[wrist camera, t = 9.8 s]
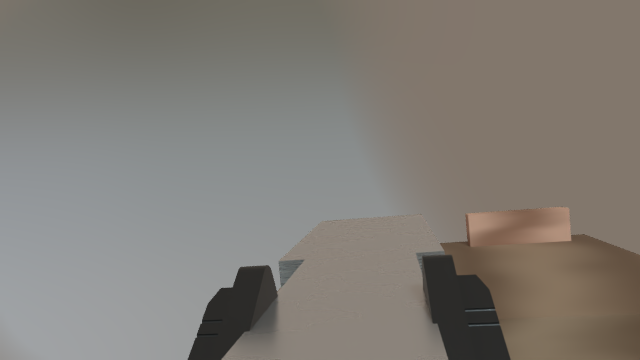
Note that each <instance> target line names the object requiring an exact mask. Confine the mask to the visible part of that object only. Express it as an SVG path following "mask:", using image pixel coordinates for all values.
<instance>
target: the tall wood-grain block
mask: <svg viewBox="0 0 640 360" xmlns="http://www.w3.org/2000/svg"><path fill="white" fill-rule="evenodd" d="M466 226H467V239H468V242H453V243H440V245H441V246H442V248H443V250H444V252H445V255H449V254H451V255H452V257H453V261H454V265H455V270H456V274H457V275H474V274H476V275H477V276H478V277H479V278H480V279H481V281H482V282H483V283H484V284H485V285H486V286H487V287H488V288H489V289H490V293H491V296H492V299H493V303H494V306H495V311H496V313H497V316H498V319H499V324H500V326H501V329H502V332H503V336H504V339H505V342H506V346H507V349H508V352H509V356H510V359H511V360H640V255H638V254H636V253H633V252H630V251H627V250H625V249H622V248H620V247H617V246H614V245H611V244H608V243H606V242H603V241H601V240H598V239H595V238H593V237H590V236H587V235H584V234H582V235H571V229H570V217H569V208H566V207H555V208H540V209H526V210H511V211H497V212H483V213H469V214H466ZM280 289H281V288H280ZM280 289H279V290H280Z"/></svg>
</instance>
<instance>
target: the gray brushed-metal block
mask: <svg viewBox="0 0 640 360" xmlns="http://www.w3.org/2000/svg"><path fill="white" fill-rule="evenodd" d="M432 255H445V252H444V250H443V248H442V246H441V245H440V243H439V242H438V240H437V238H436V237H435V235H434V234H433V232H432V231H431V229H430V227H429V226H428V224H427V223H426V221H425V220H424V218H423V216H422V215H421V214H417V215H402V216H388V217H374V218H361V219H347V220H333V221H322V222H321V223H320V224H318V225H317V226H316V227H315V228H314V229H313V230H312V231H311V232H310V233H309V234H308V235H307V236H305V237H304V238H303V239H302V240H301V241H300V242H299V243H298V244H297V245H296V246H295V247H293V248H292V249H291V250H290V251H289V252H288V253H287V254H286V255H285V256H284V257H283V258H281V259H280V260H279V271H280V282H281V289H280V290H279V291H278V292H277V294H278V297H277V298H276V299H275V300H274V302H273V303H272V304H271V305H270V307H269V308H268V309H267V310H266V311H265V313H264V314H263V315H262V316H261V318H260V319H259V320H258V321H257V323H256V324H255V325H254V326H253V328H252V329H251V330H250V331H248V332H244V333H243V334H242V335H241V337H240V338H239V339H238V340H237V341H236V343H235V344H234V345H233V346H232V347H231V349H230V350H229V351H228V352H227V353H226V355H225V356H224V357H223V358H222V359H221V360H448V357H447V354H446V350H445V347H444V344H443V341H442V337H441V334H440V331H439V328H438V324H433V323H432V319H431V315H430V312H429V308H428V305H427V301H426V297H425V294H424V290H423V276H422V256H432Z"/></svg>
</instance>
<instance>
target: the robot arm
mask: <svg viewBox="0 0 640 360" xmlns="http://www.w3.org/2000/svg"><path fill="white" fill-rule="evenodd" d="M422 276H423V290H424V294H425V297H426V301H427V305H428V308H429V312H430V315H431V319H432V323H433V324H438V328H439V331H440V334H441V337H442V341H443V344H444V347H445V350H446V354H447V357H448V360H511V359H510V356H509V352H508V349H507V346H506V342H505V339H504V336H503V332H502V329H501V326H500V324H499V319H498V316H497V313H496V311H495V306H494V303H493V299H492V296H491V293H490V289H489V288H488V287H487V286H486V285H485V284H484V283H483V282H482V281H481V279H480V278H479V277H478V276H477V275H476V274H474V275H457V274H456V270H455V265H454V261H453V257H452V255H451V254H449V255H432V256H422ZM277 297H278V294H277V290H276V286H275V283H274V279H273V275H272V271H271V268H270V267H269V266H268V265H266V266H252V267H251V266H250V267H240V268H239V270H238V273H237V276H236V279H235V282H234V285H233V287H232V288H221V289H220V290H219V291H218V292H217V294H216V295H215V296H214V297H213V298H212V300H211V301H210V302H209V303H208V305H207V308H206V311H205V314H204V316H203V319H202V324H201V325H200V328H199V330H198V333H197V338H196V339H195V341H194V344H193V347H192V350H191V352H190V355H189V358H188V360H221V359H222V358H223V357H224V356H225V355H226V353H227V352H228V351H229V350H230V349H231V347H232V346H233V345H234V344H235V343H236V341H237V340H238V339H239V338H240V337H241V335H242V334H243V333H244V332H248V331H250V330H251V329H252V328H253V326H254V325H255V324H256V323H257V321H258V320H259V319H260V318H261V316H262V315H263V314H264V313H265V311H266V310H267V309H268V308H269V307H270V305H271V304H272V303H273V302H274V300H275V299H276V298H277Z"/></svg>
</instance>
